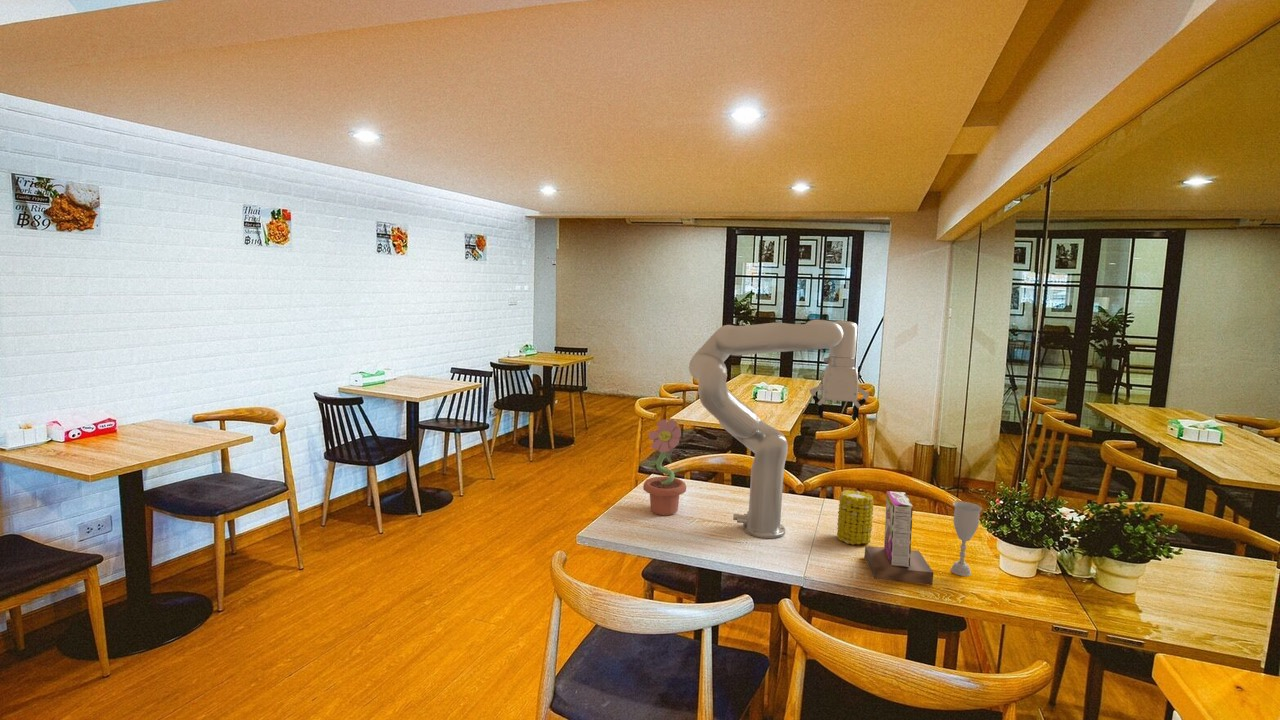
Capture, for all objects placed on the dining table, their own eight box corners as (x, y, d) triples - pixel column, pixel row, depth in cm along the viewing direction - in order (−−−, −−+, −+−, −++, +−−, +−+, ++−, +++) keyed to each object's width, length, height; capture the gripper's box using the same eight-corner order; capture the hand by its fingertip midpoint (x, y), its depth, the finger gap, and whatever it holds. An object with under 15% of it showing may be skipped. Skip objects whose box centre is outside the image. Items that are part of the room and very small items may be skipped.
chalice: (974, 580, 160) (981, 513, 158) (945, 573, 164) (951, 507, 162) (976, 570, 166) (983, 505, 164) (948, 563, 170) (954, 499, 168)
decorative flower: (631, 511, 200) (634, 420, 196) (654, 500, 211) (658, 413, 208) (670, 523, 192) (674, 427, 188) (693, 510, 203) (697, 420, 199)
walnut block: (874, 581, 159) (875, 566, 159) (864, 559, 172) (865, 545, 171) (932, 587, 157) (933, 572, 157) (917, 564, 170) (919, 550, 169)
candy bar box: (882, 548, 170) (885, 490, 168) (902, 550, 169) (905, 491, 167) (889, 566, 159) (892, 503, 157) (910, 568, 158) (914, 505, 156)
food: (836, 549, 181) (840, 538, 190) (879, 547, 176) (881, 536, 185) (828, 496, 181) (832, 488, 190) (871, 494, 176) (872, 485, 185)
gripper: (812, 362, 184) (808, 419, 186) (874, 365, 181) (869, 423, 183) (810, 359, 192) (806, 414, 194) (869, 362, 189) (865, 418, 191)
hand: (837, 418), depth 188 cm, fingers open, 9 cm apart
